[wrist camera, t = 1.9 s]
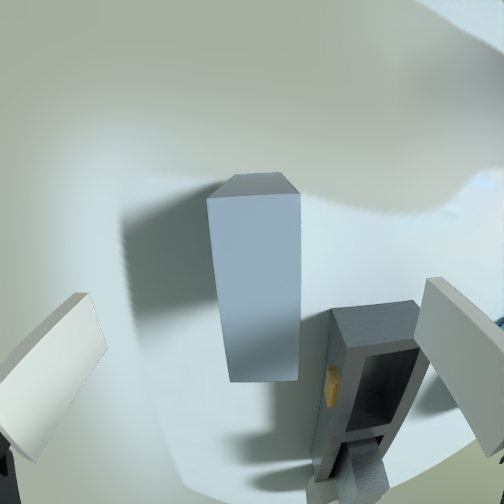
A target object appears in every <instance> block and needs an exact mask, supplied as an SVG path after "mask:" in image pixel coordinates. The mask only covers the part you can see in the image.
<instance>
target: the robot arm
mask: <svg viewBox="0 0 504 504" xmlns="http://www.w3.org/2000/svg"><path fill="white" fill-rule="evenodd" d="M413 338H414V340H415V341H416V342H417V344H418V345H419V347H420V348H421V350H422V351H423V352H424V354H425V355H426V357H427V358H428V360H429V361H430V363H431V364H432V366H433V367H434V369H435V370H436V372H437V373H438V375H439V376H440V378H441V379H442V381H443V383H444V384H445V386H446V387H447V389H448V390H449V392H450V394H451V395H452V397H453V398H454V400H455V402H456V403H457V405H458V407H459V408H460V410H461V412H462V413H463V415H464V417H465V418H466V420H467V422H468V424H469V425H470V427H471V429H472V431H473V433H474V434H475V436H476V438H477V440H478V441H479V443H480V445H481V447H482V449H483V451H484V453H485V455H486V457H487V458H489V457H490V456H492V455H494V454H495V453H497V452H499V451H500V450H502V449H503V448H504V331H503V330H502V329H501V328H500V327H499V326H498V325H496V324H495V323H494V322H493V321H492V320H491V319H490V318H489V317H488V316H487V315H486V314H485V313H483V312H482V311H481V310H480V309H479V308H478V307H477V306H476V305H474V304H473V303H472V302H471V301H470V300H469V299H468V298H466V297H465V296H464V295H463V294H462V293H461V292H459V291H458V290H457V289H456V288H455V287H453V286H452V285H451V284H450V283H449V282H447V281H446V280H445V279H444V278H442V277H435V278H427V279H426V284H425V289H424V294H423V299H422V304H421V308H420V313H419V317H418V321H417V325H416V329H415V333H414V337H413ZM107 349H108V347H107V345H106V342H105V339H104V337H103V334H102V332H101V328H100V325H99V323H98V320H97V317H96V314H95V311H94V307H93V304H92V301H91V298H90V294H89V293H74V294H73V295H72V296H71V297H70V298H69V299H68V300H66V301H65V302H64V303H63V304H62V305H61V306H60V307H58V308H57V309H56V310H55V311H54V312H53V313H52V314H51V315H50V316H49V317H48V318H46V320H44V321H43V322H42V323H41V324H40V325H39V326H38V327H37V328H36V329H35V330H34V331H33V332H32V333H31V334H29V336H27V337H26V338H25V339H24V340H23V341H22V342H21V343H20V344H19V345H18V346H17V347H16V348H15V349H14V350H13V351H12V353H10V354H9V355H8V357H7V358H6V359H5V360H4V361H3V362H2V363H1V364H0V504H21V501H20V496H19V491H18V485H17V479H16V473H15V466H14V458H13V454H12V452H11V451H10V449H9V447H10V445H12V446H13V447H14V448H15V449H16V451H18V453H19V454H20V455H21V456H23V457H25V458H27V459H28V460H30V461H32V462H34V463H36V462H37V460H38V459H39V457H40V455H41V453H42V452H43V450H44V448H45V446H46V444H47V443H48V441H49V439H50V438H51V436H52V434H53V432H54V431H55V429H56V427H57V426H58V424H59V422H60V421H61V419H62V418H63V416H64V414H65V413H66V411H67V410H68V408H69V406H70V405H71V403H72V402H73V400H74V399H75V397H76V395H77V394H78V392H79V391H80V389H81V388H82V386H83V385H84V383H85V382H86V380H87V379H88V377H89V375H90V374H91V372H92V371H93V370H94V368H95V367H96V365H97V364H98V362H99V361H100V359H101V358H102V356H103V355H104V353H105V352H106V351H107ZM503 462H504V456H503V457H502V458H501V460H500V463H499V464H502V463H503ZM500 504H504V491H503V495H502V499H501V503H500Z"/></svg>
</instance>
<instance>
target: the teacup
mask: <svg viewBox="0 0 504 504" xmlns="http://www.w3.org/2000/svg"><path fill="white" fill-rule="evenodd" d="M306 498H307V504H339V499H338V492H337V485H336V480H334V481H327V482H319V483H315V482H314V475H313V476H312V477H311V478H310V479H309V481H308V483H307V486H306ZM382 498H383V495H382V497H381V498H380V499H379V500H378V501H377V502H376V503H375V504H377V503H378V502H379V501H380V500H381V499H382Z"/></svg>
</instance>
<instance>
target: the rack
mask: <svg viewBox="0 0 504 504" xmlns="http://www.w3.org/2000/svg"><path fill="white" fill-rule="evenodd" d="M419 313H420V307H419V306H418V305H417V304H416V303H415V302H414V300H411V301H403V302H394V303H386V304H376V305H367V306H356V307H345V308H333V309H332V311H331V322H330V333H329V342H328V351H327V359H326V367H325V375H324V382H323V389H322V395H321V402H320V408H319V414H318V420H317V425H316V431H315V436H314V441H313V446H312V451H311V455H312V464H313V473H314V482H315V483H319V482H327V481H334V480H336V485H337V492H338V499H339V504H375V503H376V502H377V501H378V500H379V499H380V498H381V497H382V495H383V494H384V493H385V492H386V491H387V490H388V489H389V488H390V487H389V483H388V479H387V475H386V472H385V468H384V465H383V461H382V458H383V457H384V455H385V453H386V452H387V450H388V448H389V447H390V445H391V443H392V442H393V440H394V438H395V436H396V435H397V433H398V431H399V429H400V427H401V425H402V423H403V422H404V420H405V418H406V416H407V414H408V412H409V410H410V408H411V406H412V403H413V401H414V399H415V397H416V395H417V393H418V390H419V388H420V386H421V383H422V381H423V379H424V376H425V374H426V371H427V369H428V366H429V364H430V361H429V360H428V358H427V357H426V355H425V354H424V352H423V351H422V350H421V348H420V347H419V345H418V344H417V342H416V341H415V340H414V338H413V337H414V333H415V329H416V325H417V321H418V317H419Z"/></svg>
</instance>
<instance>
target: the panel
mask: <svg viewBox="0 0 504 504" xmlns="http://www.w3.org/2000/svg"><path fill="white" fill-rule="evenodd" d="M206 200H207V211H208V221H209V230H210V239H211V248H212V257H213V265H214V274H215V282H216V289H217V297H218V305H219V312H220V319H221V326H222V333H223V340H224V347H225V353H226V360H227V366H228V372H229V378H230V382H278V381H295V380H298V368H299V346H300V315H301V204H300V193H299V192H298V190H297V189H296V188H295V187H294V186H293V185H292V184H291V183H290V182H289V181H288V180H287V179H286V177H285V176H284V175H283V174H282V173H280V172H275V173H274V172H273V173H253V174H238V175H234V176H233V177H232V178H230V179H229V180H228V181H227V182H226V183H224V184H223V185H222V186H221V187H220V188H218V189H217V190H216V191H215V192H214V193H212V194H211V195H210V196H209V197H208V198H206Z"/></svg>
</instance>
